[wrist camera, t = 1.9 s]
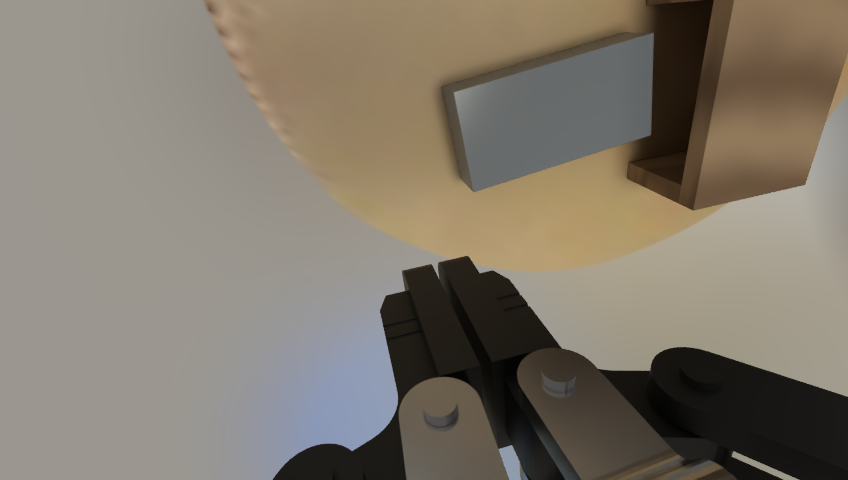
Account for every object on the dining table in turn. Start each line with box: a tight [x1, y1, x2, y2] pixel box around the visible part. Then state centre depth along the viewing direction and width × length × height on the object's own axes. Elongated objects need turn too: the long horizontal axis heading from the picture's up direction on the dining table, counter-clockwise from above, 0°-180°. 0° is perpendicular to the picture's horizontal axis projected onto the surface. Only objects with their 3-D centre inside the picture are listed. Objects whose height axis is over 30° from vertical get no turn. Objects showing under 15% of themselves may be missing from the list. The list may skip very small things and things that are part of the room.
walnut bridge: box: [627, 0, 848, 210], centre depth 26 cm, size 12×8×6 cm, turn 7°
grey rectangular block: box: [442, 33, 654, 192], centre depth 26 cm, size 6×12×3 cm, turn 104°
